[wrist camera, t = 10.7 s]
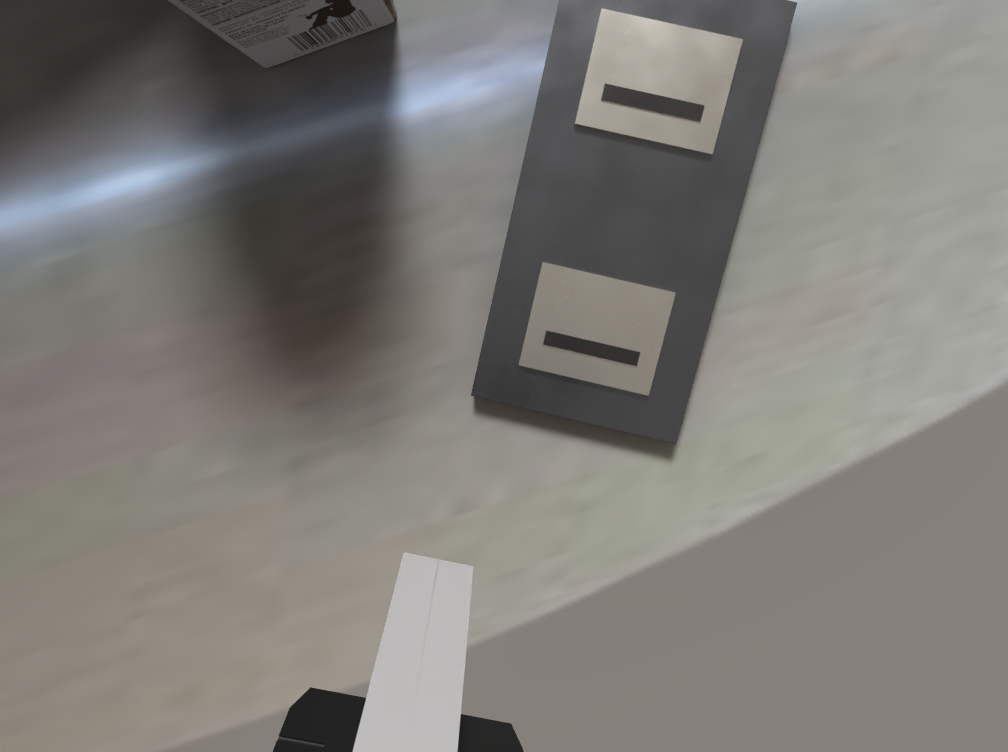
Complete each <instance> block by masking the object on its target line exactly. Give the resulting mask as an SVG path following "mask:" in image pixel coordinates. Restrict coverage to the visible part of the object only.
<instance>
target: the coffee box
mask: <svg viewBox="0 0 1008 752" xmlns="http://www.w3.org/2000/svg"><path fill="white" fill-rule="evenodd" d="M168 1H169V2H171V3H172V4H173V5H175V6H176V7H178V8H179V9H181V10H182V11H183V12H185V13H186V14H188V15H189V16H191V17H192V18H193V19H195V20H196V21H197V22H199V23H200V24H202V25H203V26H205V27H206V28H207V29H209V30H211V31H212V32H213V33H215V34H216V35H218V36H219V37H221V38H222V39H223V40H225V41H226V42H228V43H229V44H231V45H232V46H233V47H235V48H237V49H238V50H239V51H240V52H242V53H244V54H245V55H247V56H248V57H249V58H251V59H252V60H254V61H255V62H256V63H258V64H259V65H261V66H262V67H264V68H269V67H272V66H275V65H278V64H281V63H283V62H286V61H289V60H292V59H295V58H297V57H300V56H303V55H306V54H308V53H311V52H314V51H317V50H319V49H322V48H325V47H328V46H330V45H333V44H336V43H339V42H341V41H344V40H347V39H350V38H353V37H355V36H358V35H361V34H364V33H366V32H369V31H372V30H375V29H377V28H380V27H383V26H386V25H388V24H391V23H393V22H394V21H395V19H396V10H395V6H394V3H393V0H168Z"/></svg>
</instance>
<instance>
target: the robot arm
mask: <svg viewBox="0 0 1008 752" xmlns="http://www.w3.org/2000/svg"><path fill="white" fill-rule="evenodd" d="M472 576H473V566H468V565H463V564H459V563H454V562H449V561H444V560H439V559H434V558H429V557H424V556H419V555H414V554H410V553H405V552H404V554H403V557H402V561H401V565H400V569H399V573H398V577H397V581H396V585H395V589H394V592H393V596H392V600H391V604H390V608H389V612H388V616H387V620H386V624H385V627H384V631H383V635H382V639H381V643H380V647H379V651H378V655H377V658H376V662H375V666H374V670H373V674H372V678H371V682H370V686H369V690H368V694H367V697H366V698H363V697H358V696H352V695H347V694H342V693H337V692H332V691H326V690H321V689H316V688H310V689H309V690H308V691H307V692H306V693H304V694H303V695H302V696H301V697H300V698H299V699H298V700H297V701H296V702H295V703H294V704H293V705H292V706H291V707H290V709H289V711H288V714H287V716H286V719H285V721H284V724H283V727H282V729H281V732H280V734H279V738H278V740H277V742H276V745H275V747H274V750H273V752H523V749H522V746H521V744H520V742H519V740H518V738H517V735H516V733H515V731H514V729H513V727H512V724H510V723H504V722H499V721H494V720H489V719H484V718H479V717H473V716H467V715H463V714H461V705H462V693H463V680H464V669H465V658H466V646H467V634H468V623H469V611H470V599H471V588H472Z"/></svg>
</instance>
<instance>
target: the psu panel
mask: <svg viewBox="0 0 1008 752" xmlns="http://www.w3.org/2000/svg"><path fill="white" fill-rule="evenodd" d="M796 5H797V3H796V2H792V1H787V0H559V4H558V8H557V13H556V17H555V22H554V26H553V31H552V35H551V40H550V44H549V49H548V53H547V58H546V62H545V67H544V71H543V76H542V80H541V85H540V89H539V94H538V98H537V102H536V107H535V111H534V116H533V120H532V125H531V129H530V134H529V138H528V143H527V147H526V152H525V156H524V161H523V165H522V170H521V174H520V179H519V183H518V188H517V192H516V196H515V201H514V205H513V210H512V214H511V219H510V223H509V228H508V232H507V237H506V241H505V246H504V250H503V255H502V259H501V264H500V268H499V273H498V277H497V281H496V286H495V290H494V295H493V299H492V304H491V308H490V313H489V317H488V322H487V326H486V331H485V335H484V340H483V344H482V349H481V353H480V358H479V362H478V367H477V371H476V375H475V380H474V384H473V389H472V393H471V396H475V397H479V398H483V399H488V400H492V401H496V402H500V403H505V404H509V405H513V406H517V407H521V408H526V409H530V410H534V411H538V412H543V413H547V414H551V415H555V416H559V417H564V418H568V419H572V420H576V421H581V422H585V423H589V424H593V425H597V426H602V427H606V428H610V429H614V430H619V431H623V432H627V433H631V434H635V435H640V436H644V437H648V438H652V439H657V440H661V441H665V442H669V443H673V444H676V442H677V439H678V435H679V432H680V428H681V424H682V421H683V417H684V413H685V410H686V406H687V402H688V399H689V395H690V391H691V388H692V384H693V381H694V377H695V373H696V370H697V366H698V362H699V359H700V355H701V351H702V348H703V344H704V340H705V337H706V333H707V329H708V326H709V322H710V319H711V315H712V311H713V308H714V304H715V300H716V297H717V293H718V289H719V286H720V282H721V278H722V275H723V271H724V268H725V264H726V260H727V257H728V253H729V249H730V246H731V242H732V238H733V235H734V231H735V227H736V224H737V220H738V216H739V213H740V209H741V206H742V202H743V198H744V195H745V191H746V187H747V184H748V180H749V176H750V173H751V169H752V165H753V162H754V158H755V155H756V151H757V147H758V144H759V140H760V136H761V133H762V129H763V125H764V122H765V118H766V114H767V111H768V107H769V104H770V100H771V96H772V93H773V89H774V85H775V82H776V78H777V74H778V71H779V67H780V63H781V60H782V56H783V52H784V49H785V45H786V42H787V38H788V34H789V31H790V27H791V23H792V20H793V16H794V12H795V9H796Z"/></svg>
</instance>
